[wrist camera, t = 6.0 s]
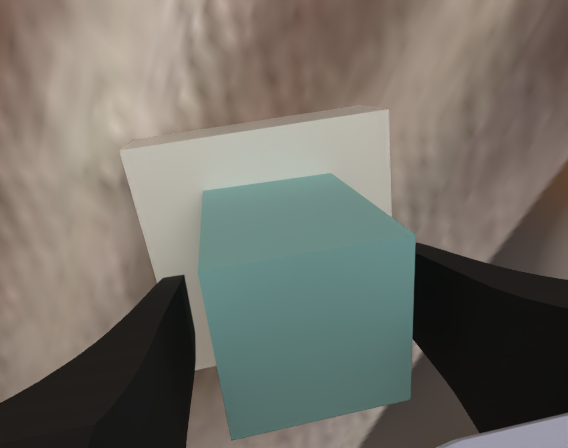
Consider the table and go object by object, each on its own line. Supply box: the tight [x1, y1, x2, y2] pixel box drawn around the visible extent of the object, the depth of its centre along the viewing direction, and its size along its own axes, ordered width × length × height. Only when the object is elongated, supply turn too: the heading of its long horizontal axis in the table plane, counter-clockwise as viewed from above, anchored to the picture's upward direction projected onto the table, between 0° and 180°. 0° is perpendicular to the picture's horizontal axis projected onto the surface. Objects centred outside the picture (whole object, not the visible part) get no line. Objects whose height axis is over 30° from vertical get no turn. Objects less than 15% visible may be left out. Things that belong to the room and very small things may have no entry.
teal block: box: [198, 173, 416, 441], centre depth 11 cm, size 4×4×6 cm
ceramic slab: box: [119, 105, 392, 370], centre depth 16 cm, size 9×9×3 cm
